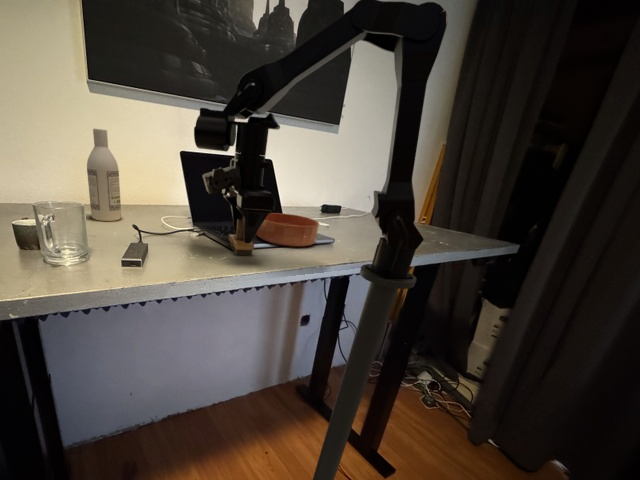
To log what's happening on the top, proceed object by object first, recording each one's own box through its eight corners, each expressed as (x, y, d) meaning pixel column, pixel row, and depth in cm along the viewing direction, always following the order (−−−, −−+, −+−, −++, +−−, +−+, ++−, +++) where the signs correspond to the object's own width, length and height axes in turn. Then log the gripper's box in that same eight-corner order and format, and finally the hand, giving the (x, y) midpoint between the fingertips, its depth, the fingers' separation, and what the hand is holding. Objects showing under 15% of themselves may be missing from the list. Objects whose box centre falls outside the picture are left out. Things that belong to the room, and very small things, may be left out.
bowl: (325, 249, 76) (330, 227, 74) (266, 247, 72) (269, 225, 70) (300, 233, 89) (304, 214, 86) (249, 230, 85) (251, 211, 83)
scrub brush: (252, 256, 66) (256, 224, 63) (235, 255, 65) (238, 223, 62) (244, 245, 72) (247, 216, 69) (228, 245, 71) (230, 215, 68)
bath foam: (122, 216, 86) (117, 131, 77) (120, 222, 80) (114, 130, 71) (93, 214, 84) (85, 127, 75) (89, 220, 78) (80, 127, 69)
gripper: (200, 148, 66) (197, 224, 73) (215, 152, 50) (209, 249, 57) (252, 154, 69) (245, 226, 76) (283, 159, 53) (269, 251, 60)
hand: (241, 236), depth 67 cm, fingers open, 9 cm apart
